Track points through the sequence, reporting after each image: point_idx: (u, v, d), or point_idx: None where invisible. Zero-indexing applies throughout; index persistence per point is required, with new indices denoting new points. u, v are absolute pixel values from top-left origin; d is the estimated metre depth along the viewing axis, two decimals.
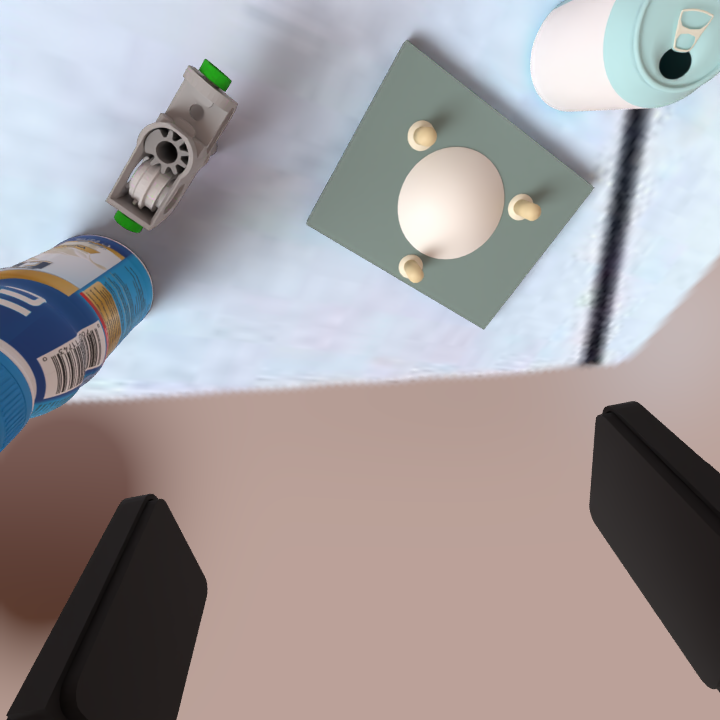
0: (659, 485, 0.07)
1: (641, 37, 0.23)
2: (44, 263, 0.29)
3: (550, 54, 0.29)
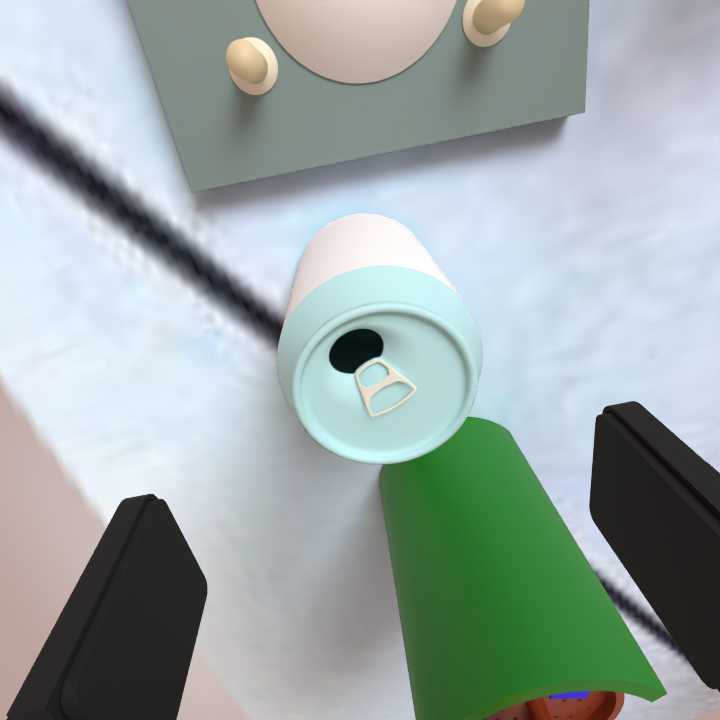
0: (659, 485, 0.07)
1: (432, 330, 0.14)
2: None
3: (422, 246, 0.20)
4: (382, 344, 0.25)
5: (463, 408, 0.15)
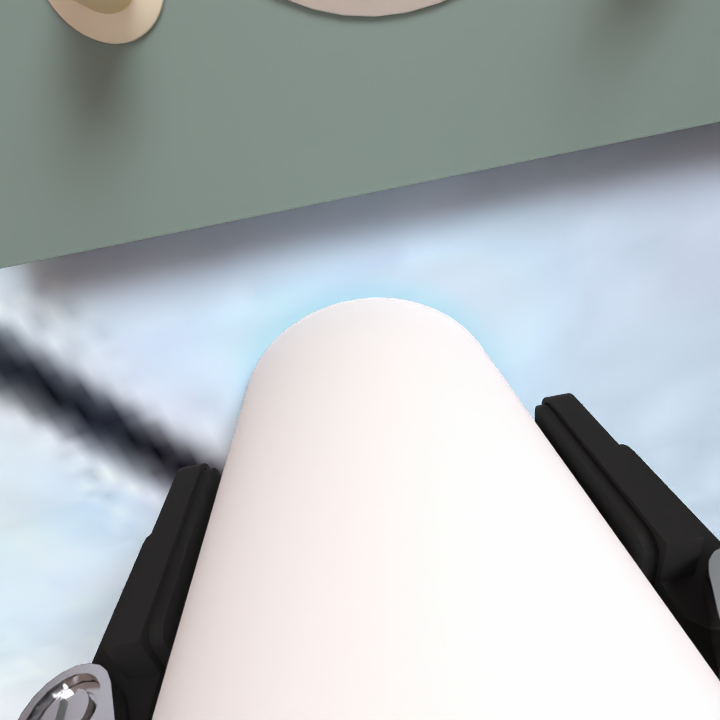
0: (580, 469, 0.08)
1: None
2: None
3: (512, 395, 0.09)
4: None
5: None
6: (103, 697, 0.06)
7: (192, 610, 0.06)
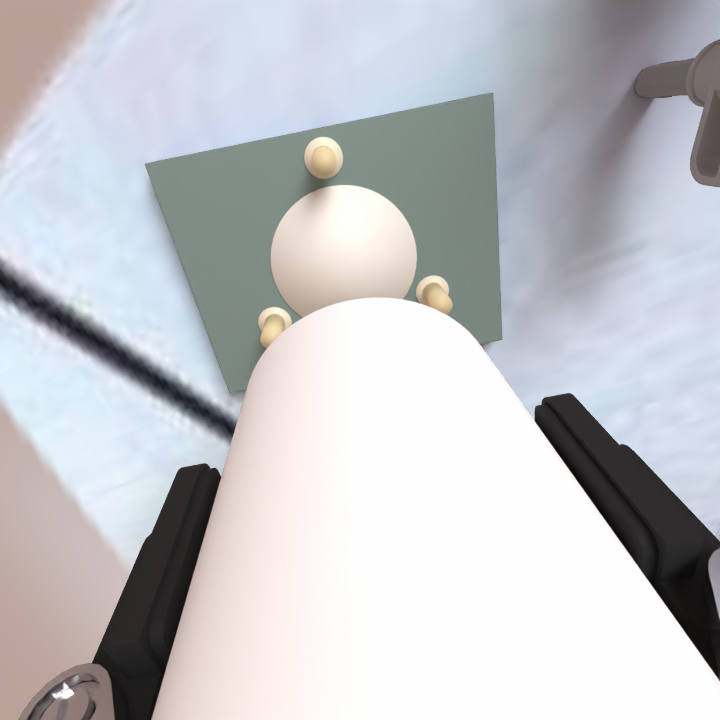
0: (580, 469, 0.08)
1: None
2: None
3: (512, 395, 0.09)
4: None
5: None
6: (103, 697, 0.06)
7: (192, 610, 0.06)
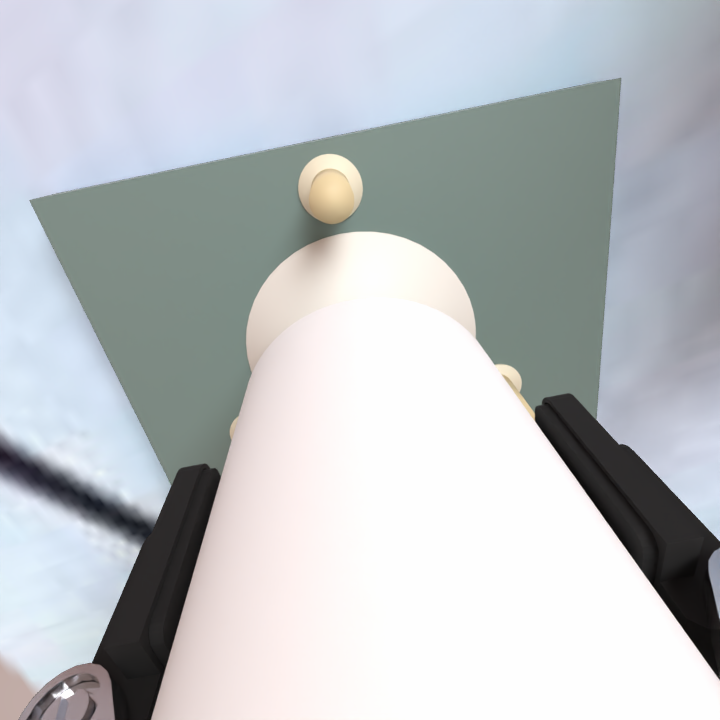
0: (580, 469, 0.08)
1: None
2: None
3: (512, 395, 0.09)
4: None
5: None
6: (103, 697, 0.06)
7: (191, 610, 0.06)
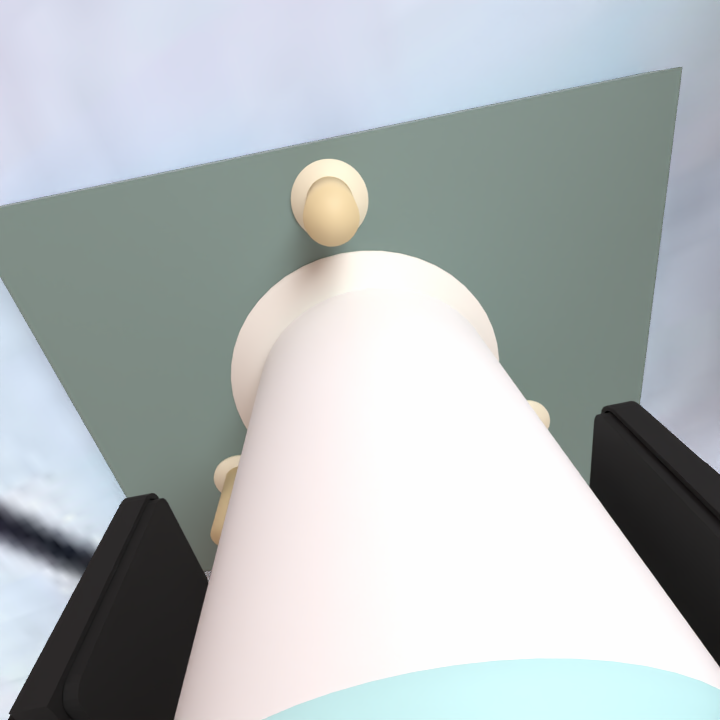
0: (657, 484, 0.07)
1: None
2: None
3: (504, 373, 0.10)
4: None
5: None
6: None
7: (228, 543, 0.07)
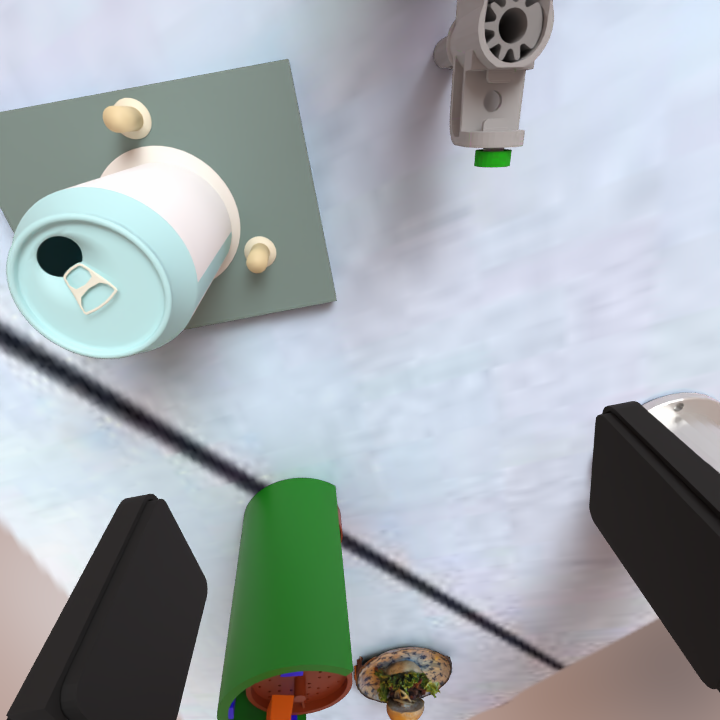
0: (659, 485, 0.07)
1: (121, 239, 0.17)
2: None
3: (192, 188, 0.23)
4: None
5: (164, 308, 0.18)
6: None
7: None
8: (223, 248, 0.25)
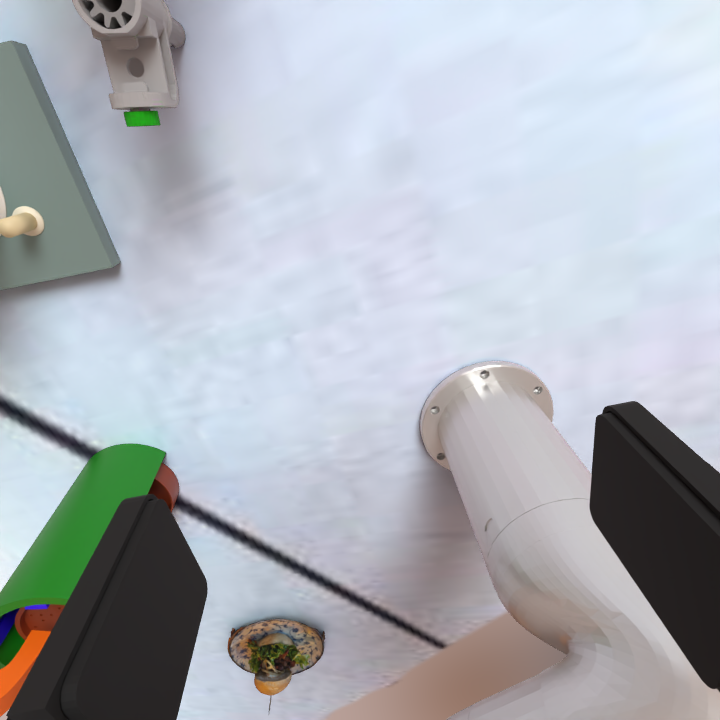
0: (659, 485, 0.07)
1: None
2: None
3: None
4: None
5: None
6: None
7: None
8: None
